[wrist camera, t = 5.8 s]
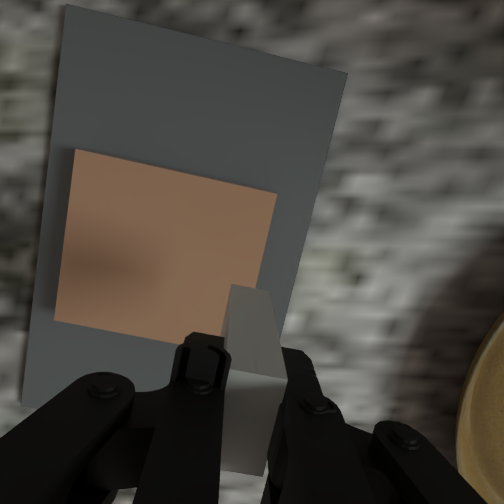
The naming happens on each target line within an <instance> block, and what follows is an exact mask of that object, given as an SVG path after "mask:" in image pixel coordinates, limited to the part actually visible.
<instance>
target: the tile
mask: <svg viewBox="0 0 504 504" xmlns="http://www.w3.org/2000/svg"><path fill="white" fill-rule="evenodd" d="M276 198H277V193H276V192H273V191H269V190H264V189H260V188H255V187H251V186H246V185H242V184H237V183H233V182H228V181H224V180H219V179H215V178H210V177H206V176H201V175H197V174H192V173H188V172H184V171H179V170H175V169H170V168H166V167H161V166H157V165H152V164H148V163H143V162H139V161H134V160H130V159H125V158H121V157H116V156H112V155H107V154H103V153H98V152H94V151H90V150H85V149H75V157H74V165H73V173H72V181H71V189H70V196H69V204H68V212H67V220H66V228H65V236H64V244H63V252H62V260H61V268H60V276H59V284H58V292H57V300H56V308H55V316H54V320H55V321H61V322H66V323H71V324H76V325H81V326H86V327H92V328H97V329H102V330H107V331H112V332H117V333H123V334H128V335H133V336H138V337H143V338H148V339H154V340H159V341H164V342H169V343H174V344H182V343H184V339H185V337H186V336H188V335H189V334H191V333H192V332H199V333H205V334H210V335H215V336H220V334H221V329H222V324H223V320H224V315H225V311H226V306H227V301H228V297H229V292H230V287H231V284H235V285H241V286H246V287H251V288H255V287H256V283H257V278H258V274H259V270H260V266H261V261H262V257H263V253H264V249H265V244H266V240H267V236H268V232H269V227H270V223H271V219H272V215H273V210H274V206H275V202H276Z"/></svg>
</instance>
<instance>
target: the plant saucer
mask: <svg viewBox="0 0 504 504" xmlns="http://www.w3.org/2000/svg"><path fill="white" fill-rule="evenodd" d="M455 452H456V463H457V470H458V472H459V474H460V475H461V476H462V477H463V478H464V479H465V480H466V481H467V482H468V483H469V484H470V485H471V486H472V487H473V488H474V489H475V490H476V492H477V493H478V494H479V495H480V496H481V497H482V498H483V499H484V500H485V501H486V502H487V503H488V504H504V311H503V312H502V313H501V314H500V316H499V317H498V318H497V319H496V321H495V322H494V324H493V325H492V327H491V328H490V329H489V331H488V332H487V334H486V336H485V337H484V339H483V341H482V343H481V344H480V346H479V348H478V350H477V352H476V354H475V356H474V358H473V360H472V363H471V365H470V367H469V370H468V372H467V375H466V378H465V381H464V384H463V387H462V391H461V395H460V399H459V404H458V409H457V417H456V428H455Z"/></svg>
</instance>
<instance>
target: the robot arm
mask: <svg viewBox="0 0 504 504" xmlns="http://www.w3.org/2000/svg"><path fill="white" fill-rule="evenodd" d="M267 460H268V471H269V473H268V477H267V481H266V484H265V488H264V492H263V496H262V500H261V503H260V504H488V503H487V502H486V501H485V500H484V499H483V498H482V497H481V496H480V495H479V494H478V493H477V492H476V490H475V489H474V488H473V487H472V486H471V485H470V484H469V483H468V482H467V481H466V480H465V479H464V478H463V477H462V476H461V475H460V474H459V472H458V471H457V470H456V469H455V468H454V467H453V466H452V465H451V464H450V463H449V462H448V461H447V460H446V459H445V458H444V457H443V456H442V454H441V453H440V452H439V451H438V450H437V449H436V448H435V447H434V446H433V445H432V444H431V443H430V442H429V441H428V440H427V439H426V438H425V437H424V436H423V435H422V434H420V433H419V432H418V431H416V430H414V429H413V428H411V427H410V426H408V425H406V424H402V423H400V422H394V421H388V420H387V421H380V422H378V423H377V424H376V425H375V427H374V430H373V433H372V434H371V433H368V432H366V431H363V430H360V429H358V428H355V427H353V426H351V425H348V424H346V423H345V421H344V418H343V416H342V413H341V411H340V409H339V408H338V406H337V405H336V404H335V403H334V402H333V401H331V400H330V399H329V398H327V397H325V396H323V393H322V390H321V387H320V385H319V382H318V379H317V377H316V373H315V370H314V367H313V364H312V361H311V359H310V358H309V357H308V356H307V355H306V354H305V353H304V352H303V351H301V350H296V349H291V348H285V347H281V345H280V340H279V335H278V331H277V326H276V321H275V316H274V312H273V307H272V302H271V297H270V293H269V291H266V290H261V289H256V288H251V287H246V286H241V285H235V284H231V287H230V292H229V297H228V301H227V306H226V311H225V315H224V320H223V324H222V329H221V334H220V336H215V335H210V334H205V333H199V332H192V333H191V334H189V335H188V336H186V337H185V339H184V343H182V344H180V345H179V346H178V347H177V348H176V351H175V356H174V361H173V367H172V372H171V377H170V382H169V384H168V385H167V386H165V387H163V388H161V389H158V390H154V391H147V392H135V386H134V384H133V383H132V381H131V380H130V379H129V378H127V377H124V376H122V375H120V374H116V373H112V372H95V373H90V374H86V375H84V376H82V377H80V378H78V379H76V380H75V381H74V382H73V383H71V384H70V385H69V386H67V387H66V388H65V389H63V390H62V391H61V392H60V393H58V394H57V395H56V396H54V397H53V398H52V399H51V400H49V401H48V402H47V403H45V404H44V405H43V406H41V407H40V408H39V409H38V410H36V411H35V412H34V413H32V414H31V415H30V416H28V417H27V418H26V419H25V420H23V421H22V422H21V423H19V424H18V425H17V426H15V427H14V428H13V429H12V430H10V431H9V432H8V433H6V434H5V435H4V436H2V437H1V438H0V504H112V502H113V501H114V499H115V497H116V495H117V492H118V489H126V488H135V487H137V490H136V493H135V497H134V500H133V503H132V504H218V498H219V482H220V470H224V471H230V472H237V473H243V474H249V475H255V476H261V477H263V474H264V470H265V466H266V462H267Z"/></svg>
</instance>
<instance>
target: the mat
mask: <svg viewBox="0 0 504 504" xmlns="http://www.w3.org/2000/svg"><path fill="white" fill-rule="evenodd" d="M347 75H348V73H344V72H340V71H336V70H332V69H328V68H324V67H320V66H316V65H312V64H308V63H304V62H300V61H296V60H292V59H288V58H284V57H280V56H276V55H271V54H267V53H263V52H259V51H255V50H251V49H247V48H243V47H239V46H235V45H231V44H227V43H223V42H219V41H215V40H211V39H207V38H203V37H199V36H195V35H191V34H187V33H183V32H178V31H174V30H170V29H166V28H162V27H158V26H154V25H150V24H146V23H142V22H138V21H134V20H130V19H126V18H122V17H118V16H114V15H110V14H106V13H102V12H98V11H94V10H90V9H85V8H81V7H77V6H73V5H69V4H66V9H65V18H64V27H63V36H62V45H61V54H60V62H59V71H58V80H57V89H56V98H55V107H54V116H53V125H52V134H51V142H50V151H49V160H48V169H47V178H46V187H45V196H44V205H43V214H42V223H41V231H40V240H39V249H38V258H37V267H36V276H35V285H34V294H33V303H32V311H31V320H30V329H29V338H28V347H27V356H26V365H25V374H24V383H23V392H22V400H21V406H24V407H30V408H35V409H39V408H40V407H41V406H43V405H44V404H45V403H47V402H48V401H49V400H51V399H52V398H53V397H54V396H56V395H57V394H58V393H60V392H61V391H62V390H63V389H65V388H66V387H67V386H69V385H70V384H71V383H73V382H74V381H75V380H76V379H78V378H80V377H82V376H84V375H86V374H90V373H95V372H112V373H116V374H120V375H122V376H124V377H127V378H129V379H130V380H131V381H132V383H133V384H134V386H135V392H147V391H154V390H158V389H161V388H163V387H165V386H167V385H168V384H169V382H170V377H171V372H172V367H173V361H174V356H175V351H176V348H177V347H178V346H179V345H180V344H174V343H169V342H164V341H159V340H154V339H148V338H143V337H138V336H133V335H128V334H123V333H117V332H112V331H107V330H102V329H97V328H92V327H86V326H81V325H76V324H71V323H66V322H61V321H55V320H54V316H55V308H56V300H57V292H58V284H59V276H60V268H61V260H62V252H63V244H64V236H65V228H66V220H67V212H68V204H69V196H70V189H71V181H72V173H73V165H74V157H75V149H85V150H90V151H94V152H98V153H103V154H107V155H112V156H116V157H121V158H125V159H130V160H134V161H139V162H143V163H148V164H152V165H157V166H161V167H166V168H170V169H175V170H179V171H184V172H188V173H192V174H197V175H201V176H206V177H210V178H215V179H219V180H224V181H228V182H233V183H237V184H242V185H246V186H251V187H255V188H260V189H264V190H269V191H273V192H276V193H277V198H276V202H275V206H274V210H273V215H272V219H271V223H270V227H269V232H268V236H267V240H266V244H265V249H264V253H263V257H262V261H261V266H260V270H259V274H258V278H257V283H256V287H255V288H256V289H261V290H266V291H269V293H270V297H271V302H272V307H273V312H274V316H275V321H276V326H277V331H278V335H279V340H280V336H281V332H282V329H283V325H284V321H285V317H286V313H287V309H288V305H289V301H290V297H291V293H292V290H293V286H294V282H295V278H296V274H297V270H298V266H299V262H300V258H301V254H302V250H303V247H304V243H305V239H306V235H307V231H308V227H309V223H310V219H311V215H312V211H313V208H314V204H315V200H316V196H317V192H318V188H319V184H320V180H321V176H322V172H323V169H324V165H325V161H326V157H327V153H328V149H329V145H330V141H331V137H332V133H333V129H334V126H335V122H336V118H337V114H338V110H339V106H340V102H341V98H342V94H343V90H344V87H345V83H346V79H347Z"/></svg>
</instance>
